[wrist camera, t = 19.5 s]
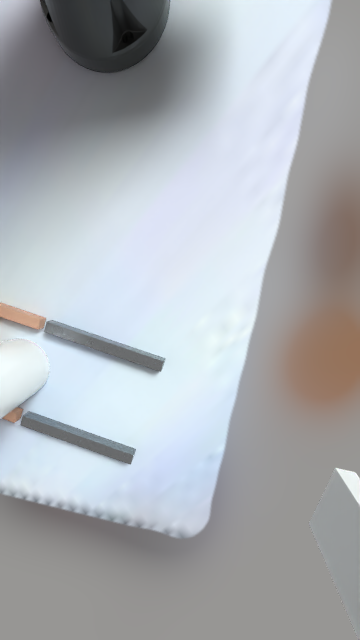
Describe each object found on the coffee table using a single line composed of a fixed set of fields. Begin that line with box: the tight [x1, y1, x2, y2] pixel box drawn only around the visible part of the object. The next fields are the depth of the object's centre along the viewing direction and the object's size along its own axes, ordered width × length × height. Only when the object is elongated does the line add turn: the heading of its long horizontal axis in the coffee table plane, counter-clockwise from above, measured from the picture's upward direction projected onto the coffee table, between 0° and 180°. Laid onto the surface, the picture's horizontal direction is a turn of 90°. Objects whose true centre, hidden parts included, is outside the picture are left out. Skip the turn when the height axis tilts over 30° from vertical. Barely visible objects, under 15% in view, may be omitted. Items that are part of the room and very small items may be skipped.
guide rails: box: [21, 320, 165, 464], centre depth 41 cm, size 16×17×2 cm
